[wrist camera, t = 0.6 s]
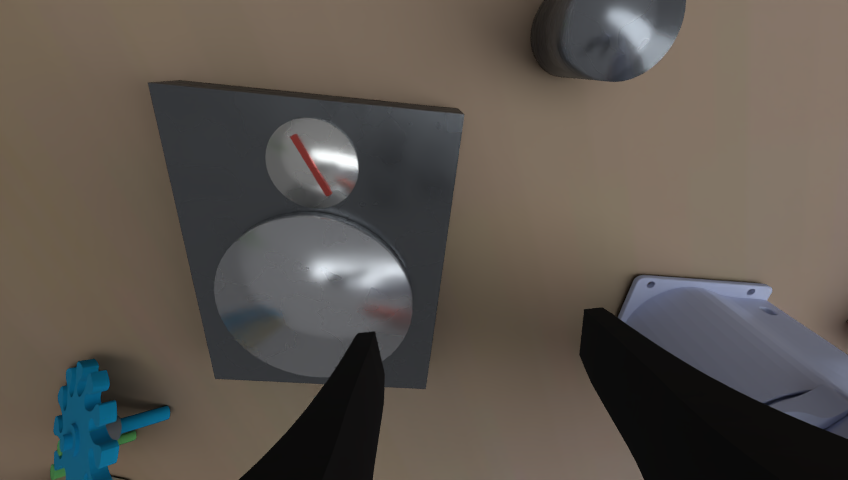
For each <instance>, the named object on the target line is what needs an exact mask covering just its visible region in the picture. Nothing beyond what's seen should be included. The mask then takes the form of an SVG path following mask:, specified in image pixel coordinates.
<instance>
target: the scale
mask: <svg viewBox="0 0 848 480" xmlns="http://www.w3.org/2000/svg"><path fill="white" fill-rule="evenodd" d="M148 85H149V90H150V94H151V98H152V103H153V107H154V112H155V116H156V120H157V125H158V129H159V134H160V138H161V142H162V147H163V151H164V156H165V160H166V164H167V169H168V173H169V178H170V182H171V186H172V191H173V195H174V200H175V204H176V208H177V213H178V217H179V222H180V226H181V230H182V235H183V239H184V244H185V248H186V252H187V257H188V261H189V266H190V270H191V274H192V279H193V283H194V288H195V292H196V296H197V301H198V305H199V310H200V314H201V318H202V323H203V327H204V332H205V336H206V340H207V345H208V349H209V354H210V358H211V362H212V367H213V371H214V376H215V379H232V380H252V381H273V382H293V383H314V384H325V383H326V382H327V380H328V379H329V377H330V376H331V374H332V373H333V371H334V370H335V368H336V367H337V365H338V364H339V362H340V360H341V359H342V357H343V356H344V354H345V352H346V351H347V349H348V347H349V346H350V344H351V342H352V341H353V339H354V337H355V336H356V335H357V333H363V332H373V331H375V333H376V338H377V342H378V346H379V351H380V355H381V359H382V364H383V368H384V373H385V385H384V387H396V388H416V389H426V382H427V375H428V368H429V361H430V354H431V347H432V340H433V333H434V326H435V319H436V312H437V304H438V297H439V290H440V283H441V276H442V269H443V262H444V255H445V248H446V241H447V233H448V226H449V219H450V212H451V205H452V198H453V191H454V184H455V177H456V170H457V163H458V155H459V148H460V141H461V134H462V127H463V120H464V114H463V113H462V112H461V111H460V110H459V109H457V108H447V107H437V106H427V105H418V104H408V103H398V102H388V101H378V100H368V99H359V98H349V97H339V96H329V95H319V94H310V93H300V92H290V91H280V90H270V89H260V88H251V87H241V86H231V85H221V84H211V83H202V82H192V81H182V80H178V81H164V82H149V83H148Z"/></svg>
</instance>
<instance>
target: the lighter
mask: <svg viewBox="0 0 848 480" xmlns="http://www.w3.org/2000/svg"><path fill="white" fill-rule="evenodd" d="M112 479H113V480H125V479H120V478H115V477H112ZM55 480H66V476H63V477H60V478H57V479H55Z"/></svg>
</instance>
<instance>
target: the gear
mask: <svg viewBox="0 0 848 480" xmlns="http://www.w3.org/2000/svg"><path fill="white" fill-rule="evenodd" d="M98 370H99V365H98V362H97V361H96V360H95V359H89V360H83V361H78V363H77V367H73V368H69V369H67V371H66V381H67V386H62V387H61V388H60V391H59V393H58V402H59V404H60V407H61V411H62V415H59V416H56V418H55V422H54V434H55V435H57V436H58V437H59V439H60V440H59V441H58V445H57V450H56V451H55V452H54V464H52V465H51V469H50V476H51V480H55V479H57V478H60V477H63V476H66V480H113V479H112V477H111V475H110V473H109V470H108V465H111V464H114V463H116V462H117V458H118V452H119V445H121V444H124V443H127V442H130V441H133V440H135V439H136V431H132V430H135V429H138V428H142V427H145V426H148V425H151V424H154V423H158V422H161V421H164V420H167V419H169V417H170V408H169V407H168V406H164V407H160V408H157V409H153V410H150V411H146V412H142V413H139V414H135V415H132V416H128V417H125V418H121V419H120V417H119V416H118V415H117V405H116V401H115V400H112V401H108V402H104V403H101V392H103V391H107V390H108V389H109V386H110V381H109V376H108V373H107V370H104V371H98ZM129 431H131V432H129ZM125 432H128V433H125ZM122 433H124V434H122Z"/></svg>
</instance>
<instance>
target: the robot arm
mask: <svg viewBox="0 0 848 480" xmlns="http://www.w3.org/2000/svg"><path fill="white" fill-rule="evenodd" d="M649 282H651V283H650V284H648V283H649ZM647 284H648V285H647ZM771 293H772V288H771V287H770V286H768V285H767V284H760V283H746V282H733V281H719V280H705V279H692V278H678V277H664V276H651V275H640V276H637V277H636V278H635V279H634V281H633V283H632V285H631V287H630V290H629V292H628V294H627V297H626V299H625V301H624V304H623V306H622V308H621V311H620V313H619V315H618V318H617V317H616V316H615V315H613V314H612V313H610V312H609V311H607V310H606V309H604V308H592V309H584V316H583V326H582V335H581V345H580V354H579V355H580V357H581V359H582V362H583V364H584V367H585V369H586V372H587V374H588V376H589V379H590V381H591V383H592V385H593V387H594V388H595V390H596V392H597V394H598V396H599V397H600V399H601V401H602V403H603V404H604V406H605V408H606V410H607V411H608V413H609V415H610V416H611V418H612V420H613V422H614V423H615V425H616V427H617V429H618V430H619V432H620V434H621V435H622V437H623V439H624V441H625V442H626V444H627V446H628V448H629V450H630V451H631V453H632V455H633V457H634V459H635V461H636V463H637V465H638V467H639V469H640V471H641V474H642V476H643V478H644V480H848V355H847V354H846V353H844V352H843V351H841V350H840V349H838V348H837V347H835V346H834V345H832V344H831V343H829V342H828V341H826V340H825V339H823V338H822V337H820V336H819V335H817V334H816V333H814V332H813V331H811V330H810V329H808V328H807V327H805V326H804V325H802V324H801V323H799V322H798V321H796V320H795V319H793V318H792V317H790V316H789V315H787V314H786V313H784V312H783V311H782V310H780V309H779V308H777V307H776V306H774V305H773V304H771V303H770V302H768V301H767V299H768V298H769V296H770V295H771ZM384 385H385V373H384V368H383V364H382V359H381V355H380V351H379V346H378V342H377V338H376V333H375V331H373V332H363V333H357V335H356V336H355V337H354V339H353V341H352V342H351V344H350V346H349V347H348V349H347V351H346V352H345V354H344V356H343V357H342V359H341V360H340V362H339V364H338V365H337V367H336V368H335V370H334V371H333V373H332V374H331V376H330V377H329V379H328V380H327V382H326V383H325V384H324V386H323V387H322V389H321V390H320V391H319V393H318V394H317V395H316V397H315V398H314V399H313V401H312V402H311V403H310V405H309V406H308V407H307V408H306V410H305V411H304V412H303V413H302V415H301V416H300V417H299V418H298V420H297V421H296V422H295V423H294V424H293V425H292V426H291V428H290V429H289V430H288V431H287V432H286V433H285V434H284V435H283V436H282V438H281V439H280V440H279V441H278V442H277V443H276V444H275V445H274V446H273V447H272V448H271V449H270V450H269V451H268V452H267V453H266V454H265V455H264V456H263V457H262V458H261V459H260V460H259V461H258V462H257V463H256V464H255V465H254V466H253V467H252V468H251V469H250V470H249V471H248V472H247V473H245V474H244V475H243V476H242V477H241V478H240V479H239V480H373V472H374V465H375V458H376V452H377V445H378V438H379V432H380V425H381V419H382V412H383V405H384Z"/></svg>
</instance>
